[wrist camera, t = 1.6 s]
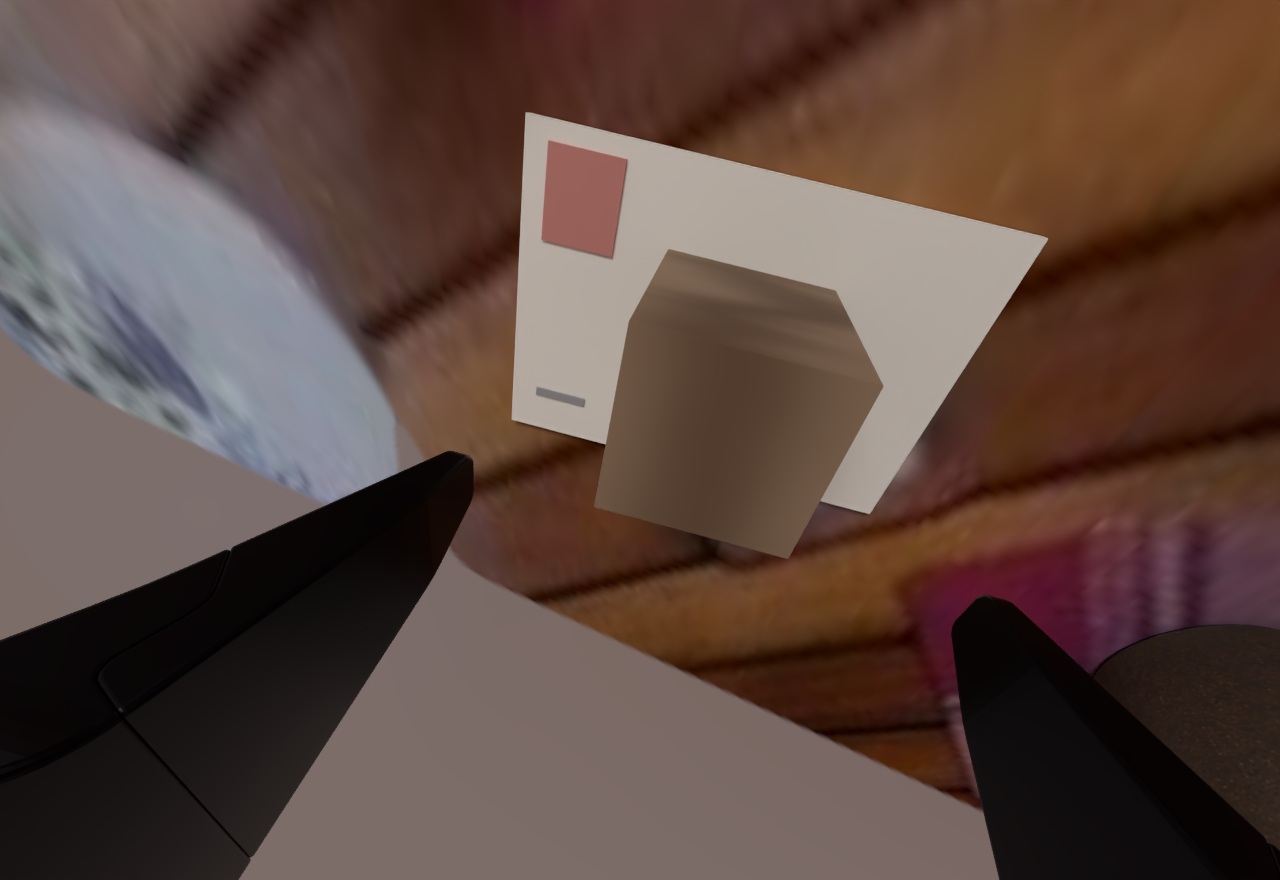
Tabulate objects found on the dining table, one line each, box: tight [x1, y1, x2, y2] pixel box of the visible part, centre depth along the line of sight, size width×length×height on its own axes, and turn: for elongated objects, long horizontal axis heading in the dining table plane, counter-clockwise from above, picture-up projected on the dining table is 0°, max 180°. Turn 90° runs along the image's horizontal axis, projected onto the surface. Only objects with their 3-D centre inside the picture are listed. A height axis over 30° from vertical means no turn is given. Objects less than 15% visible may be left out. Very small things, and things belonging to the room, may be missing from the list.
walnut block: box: [594, 249, 884, 559], centre depth 13 cm, size 5×5×6 cm
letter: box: [512, 112, 1048, 514], centre depth 16 cm, size 14×10×1 cm
